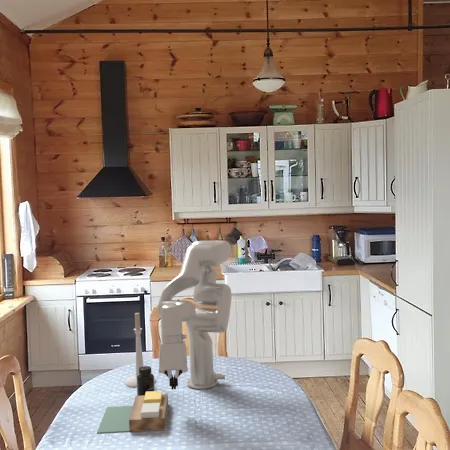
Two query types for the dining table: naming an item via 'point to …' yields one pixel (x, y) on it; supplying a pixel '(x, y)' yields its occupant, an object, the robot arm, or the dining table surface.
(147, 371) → the supplement bottle
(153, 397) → the yellow rectangular block
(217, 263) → the robot arm
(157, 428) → the board
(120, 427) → the mat
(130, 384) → the candlestick
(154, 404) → the white flat block
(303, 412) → the dining table surface
